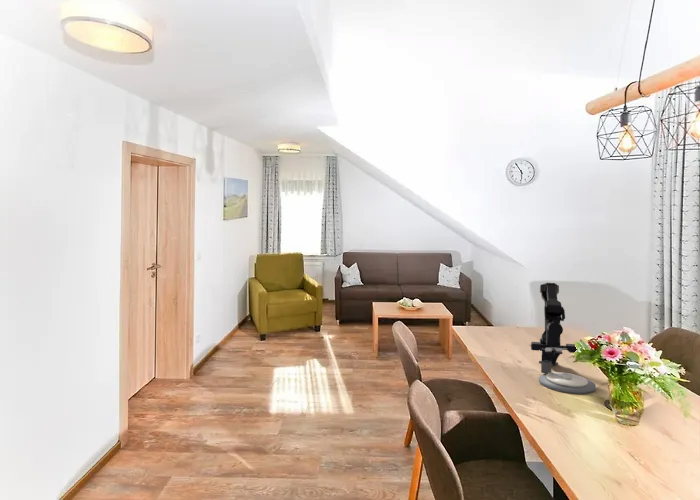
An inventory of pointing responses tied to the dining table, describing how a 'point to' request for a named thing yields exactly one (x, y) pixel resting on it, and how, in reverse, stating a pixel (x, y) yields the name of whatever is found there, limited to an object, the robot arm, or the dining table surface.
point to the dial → (562, 376)
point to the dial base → (575, 390)
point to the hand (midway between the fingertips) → (553, 366)
